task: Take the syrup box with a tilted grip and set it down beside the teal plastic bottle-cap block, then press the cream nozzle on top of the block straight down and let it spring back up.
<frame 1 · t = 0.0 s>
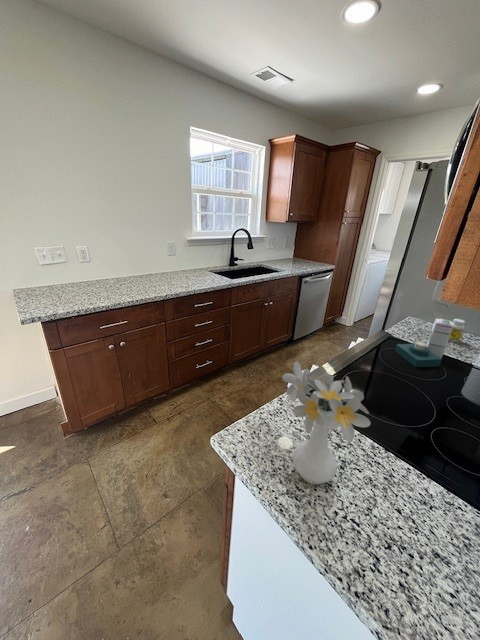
hand: (440, 312, 69), 30 cm above the worktop, tool pointing down, fingers open, 8 cm apart
syrup box: (432, 353, 109), on the worktop
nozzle: (420, 345, 103), point 6 cm above the worktop, slide at 0.1 cm
supplement bottle: (451, 340, 121), on the worktop
flower vase: (308, 471, 59), on the worktop
cap block: (415, 358, 105), on the worktop
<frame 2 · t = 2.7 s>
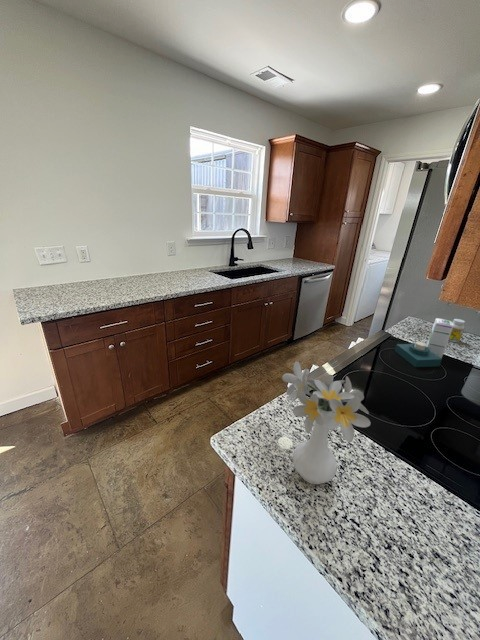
hand: (461, 308, 100), 20 cm above the worktop, tool tilted 35°, fingers open, 8 cm apart
nothing on the worktop moved.
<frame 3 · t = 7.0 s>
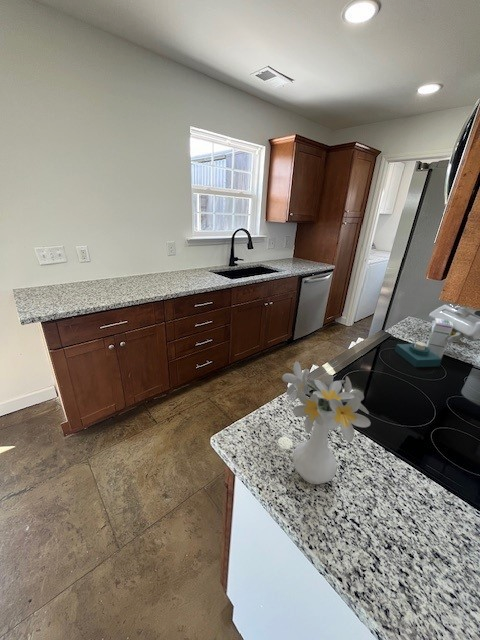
hand: (438, 335, 105), 9 cm above the worktop, tool tilted 45°, fingers closed on syrup box, 7 cm apart
syrup box: (432, 353, 109), on the worktop, touching gripper
everything else where it was.
when the fingers open (8 cm above the worktop, at t = 15.7 s): syrup box stays where it is, on the worktop.
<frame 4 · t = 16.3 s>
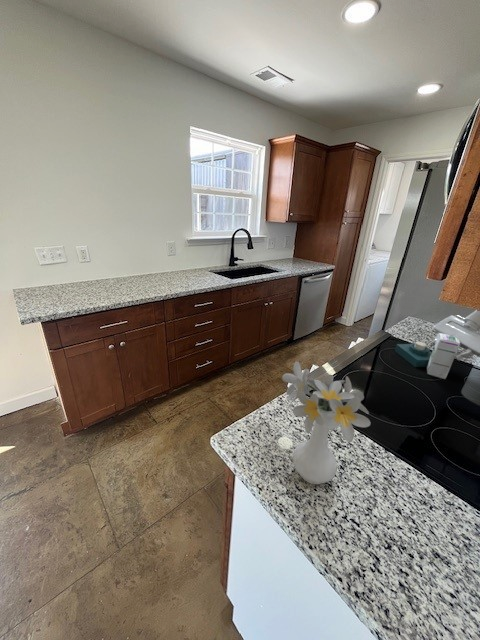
hand: (444, 351, 92), 9 cm above the worktop, tool tilted 45°, fingers open, 8 cm apart
syrup box: (435, 373, 96), on the worktop, touching gripper
everything else where it was.
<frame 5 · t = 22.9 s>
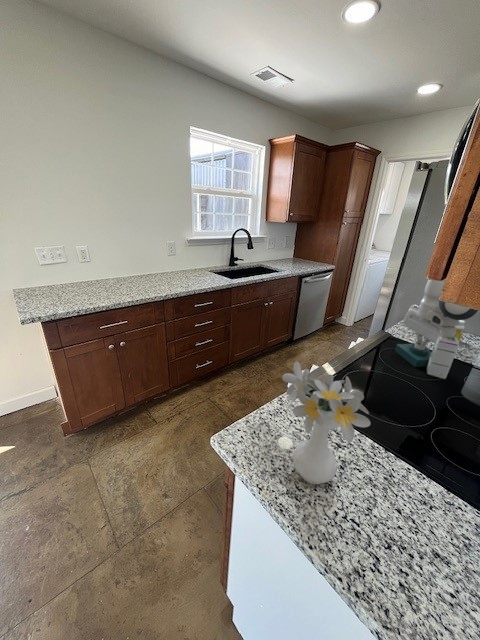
hand: (420, 345, 102), 6 cm above the worktop, tool pointing down, fingers closed, pressing on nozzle
syrup box: (435, 373, 96), on the worktop
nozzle: (419, 347, 103), point 5 cm above the worktop, slide at -0.6 cm, touching gripper
everything else where it was.
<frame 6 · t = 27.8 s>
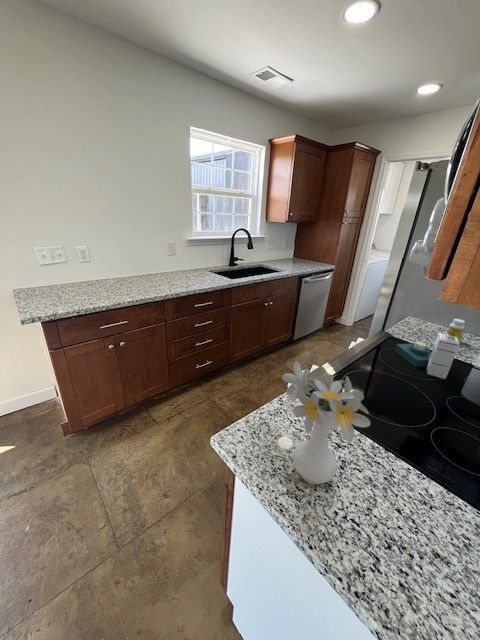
hand: (425, 278, 104), 29 cm above the worktop, tool pointing down, fingers closed
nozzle: (420, 345, 103), point 6 cm above the worktop, slide at 0.1 cm
everything else where it was.
at the end: syrup box inside the target area (0.1 cm from its centre), on the worktop; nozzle pushed in 1.1 cm at the most during the clip, back to where it started at the end; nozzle slide at 0.1 cm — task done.
